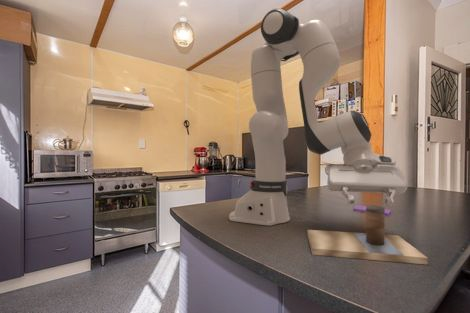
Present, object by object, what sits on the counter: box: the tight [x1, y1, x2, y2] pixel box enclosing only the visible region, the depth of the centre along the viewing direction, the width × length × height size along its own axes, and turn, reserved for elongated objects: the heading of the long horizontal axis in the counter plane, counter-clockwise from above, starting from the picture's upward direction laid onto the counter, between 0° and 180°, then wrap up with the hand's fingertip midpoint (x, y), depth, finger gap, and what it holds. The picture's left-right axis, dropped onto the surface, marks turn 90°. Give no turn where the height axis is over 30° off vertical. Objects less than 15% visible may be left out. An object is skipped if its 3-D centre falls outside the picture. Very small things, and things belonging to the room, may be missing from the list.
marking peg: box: [365, 204, 386, 246], centre depth 60 cm, size 4×4×9 cm
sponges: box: [353, 204, 392, 217], centre depth 96 cm, size 7×13×2 cm, turn 47°
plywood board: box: [307, 229, 429, 265], centre depth 61 cm, size 24×14×2 cm, turn 77°
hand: (370, 203), depth 63 cm, fingers open, 8 cm apart
